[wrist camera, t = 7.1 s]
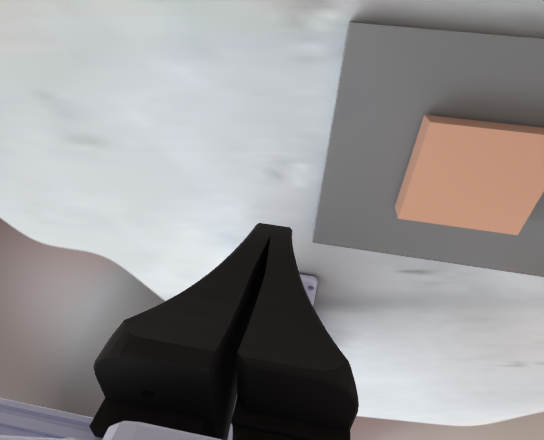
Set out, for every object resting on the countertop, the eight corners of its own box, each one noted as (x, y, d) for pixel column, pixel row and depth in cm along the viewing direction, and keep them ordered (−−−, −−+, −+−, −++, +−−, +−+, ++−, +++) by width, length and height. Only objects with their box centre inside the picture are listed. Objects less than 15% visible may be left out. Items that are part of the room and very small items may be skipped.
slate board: (564, 271, 24) (573, 281, 23) (313, 234, 25) (312, 242, 25) (727, 54, 16) (749, 57, 15) (349, 21, 18) (349, 22, 17)
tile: (394, 205, 22) (505, 220, 21) (397, 218, 20) (517, 235, 20) (423, 113, 19) (556, 128, 18) (430, 122, 17) (575, 138, 16)
